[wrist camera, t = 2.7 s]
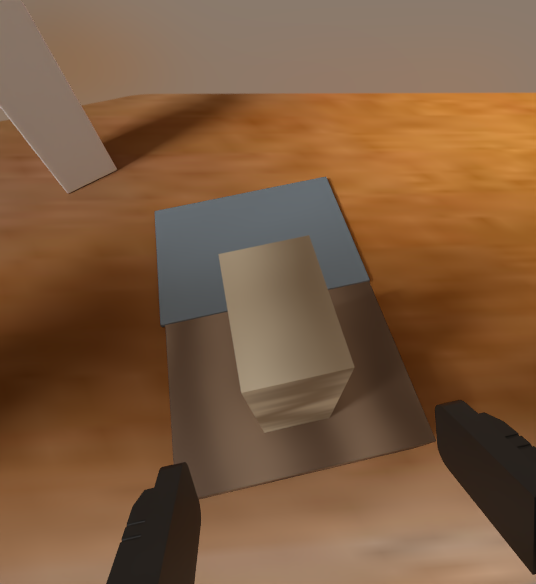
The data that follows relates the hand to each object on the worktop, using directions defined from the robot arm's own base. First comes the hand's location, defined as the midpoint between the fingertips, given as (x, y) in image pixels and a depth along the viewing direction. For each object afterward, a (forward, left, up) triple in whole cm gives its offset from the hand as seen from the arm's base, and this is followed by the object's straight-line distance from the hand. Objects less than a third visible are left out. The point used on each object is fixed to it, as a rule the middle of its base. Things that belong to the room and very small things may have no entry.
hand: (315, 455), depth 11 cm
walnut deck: (0, +5, -14) cm, 15 cm away
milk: (-17, +35, -14) cm, 42 cm away
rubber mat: (0, +19, -14) cm, 24 cm away
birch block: (0, +5, -10) cm, 11 cm away
